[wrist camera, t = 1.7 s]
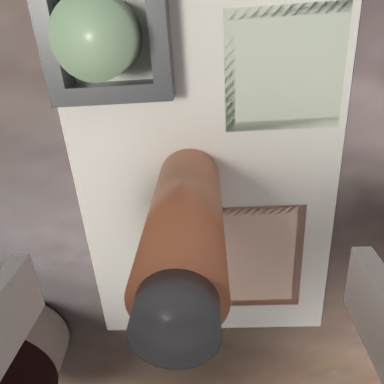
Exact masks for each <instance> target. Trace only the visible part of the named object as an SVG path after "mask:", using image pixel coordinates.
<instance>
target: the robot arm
mask: <svg viewBox="0 0 384 384" xmlns="http://www.w3.org/2000/svg"><path fill="white" fill-rule="evenodd" d="M343 302H344V304H345V306H346V308H347V310H348V312H349V314H350V316H351V318H352V321H353V323H354V325H355V327H356V329H357V331H358V333H359V335H360V337H361V340H362V342H363V344H364V346H365V348H366V350H367V352H368V354H369V356H370V359H371V361H372V363H373V365H374V367H375V369H376V371H377V373H378V375H379V378H380V380H381V382H382V384H384V263H383V262H382V260H381V259H380V257H379V256H378V255H377V253H376V252H375V250H374V249H373V248H372V246H368V247H352V248H351V254H350V260H349V267H348V273H347V280H346V286H345V293H344V299H343ZM44 306H45V303H44V299H43V296H42V293H41V290H40V286H39V283H38V280H37V277H36V274H35V270H34V267H33V264H32V261H31V257H30V254H29V255H12V256H11V257H10V258H9V259H8V260H7V261H6V263H5V264H4V265H3V266H2V267H1V268H0V382H1V380H2V378H3V376H4V375H5V373H6V371H7V370H8V368H9V366H10V364H11V363H12V361H13V359H14V358H15V356H16V354H17V352H18V351H19V349H20V347H21V346H22V344H23V342H24V340H25V339H26V337H27V335H28V334H29V332H30V330H31V328H32V327H33V325H34V323H35V322H36V320H37V318H38V316H39V315H40V313H41V311H42V310H43V308H44Z"/></svg>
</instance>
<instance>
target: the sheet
mask: <svg viewBox="0 0 384 384" xmlns="http://www.w3.org/2000/svg"><path fill="white" fill-rule="evenodd" d="M60 1H61V0H60ZM121 1H123V2H124V3H125V4H127V5H128V6H129V7H130V8H131V9H132V10H133V12H134V13H135V14H136V16H137V18H138V20H139V22H140V25H141V29H142V34H143V43H142V49H141V52H140V55H139V57H138V59H137V60H136V62H135V63H134V64H133V65H132V66H131V67H130V68H128V69H127V70H125V71H124V72H122V73H120V74H119V75H117V76H116V77H114V78H113V79H110V80H108V81H123V80H140V79H153V74H152V64H151V55H150V45H149V35H148V26H147V16H146V7H145V0H121ZM168 3H169V16H170V28H171V41H172V53H173V66H174V79H175V91H176V95H175V98H174V100H173V101H166V102H148V103H130V104H112V105H94V106H76V107H58V112H59V116H60V121H61V125H62V130H63V134H64V138H65V143H66V147H67V152H68V156H69V161H70V165H71V170H72V174H73V179H74V183H75V188H76V192H77V197H78V201H79V206H80V210H81V215H82V219H83V224H84V228H85V233H86V237H87V241H88V246H89V250H90V255H91V259H92V264H93V268H94V273H95V277H96V282H97V286H98V291H99V295H100V300H101V304H102V309H103V313H104V318H105V322H106V327H107V330H127V325H128V322H129V318H130V316H129V315H128V312H127V310H126V307H125V302H124V294H125V289H126V286H127V282H128V279H129V276H130V272H131V269H132V266H133V262H134V259H135V255H136V252H137V249H138V245H139V242H140V238H141V235H142V232H143V228H144V225H145V222H146V218H147V215H148V211H149V208H150V205H151V201H152V198H153V194H154V191H155V188H156V184H157V181H158V178H159V174H160V171H161V167H162V165H163V163H164V161H165V160H166V159H167V157H169V156H170V155H171V154H172V153H174V152H176V151H178V150H181V149H197V150H200V151H203V152H205V153H206V154H208V155H209V156H210V157H211V158H212V159H213V160H214V161H215V163H216V165H217V167H218V170H219V178H220V189H221V200H222V211H223V222H224V233H225V243H226V254H227V265H228V276H229V287H230V298H231V307H230V311H229V314H228V316H227V318H226V320H225V321H224V323H223V324H222V325H221V328H249V327H300V326H321V318H322V310H323V302H324V294H325V286H326V279H327V271H328V263H329V255H330V247H331V239H332V231H333V224H334V216H335V208H336V200H337V192H338V184H339V176H340V168H341V161H342V153H343V145H344V137H345V129H346V121H347V113H348V105H349V98H350V90H351V82H352V74H353V66H354V58H355V50H356V42H357V35H358V27H359V19H360V11H361V3H362V0H168ZM105 82H106V81H105ZM76 83H90V82H85V81H82V80H79V79H77V78H76Z"/></svg>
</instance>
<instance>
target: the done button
mask: <svg viewBox="0 0 384 384" xmlns="http://www.w3.org/2000/svg"><path fill="white" fill-rule="evenodd" d="M48 38H49V44H50V47H51V50H52V52H53V55H54V56H55V58H56V60H57V61H58V63H59V64H60V65H61V66H62V68H63V69H64V70H65V71H67V72H68V73H69V74H70V75H72V76H74V77H75V78H77V79H79V80H82V81H85V82H91V83H100V82H105V81H108V80H110V79H113V78H114V77H116V76H117V75H119V74H120V73H122V72H124V71H125V70H127V69H128V68H130V67H131V66H132V65H133V64H134V63H135V62H136V60H137V59H138V57H139V55H140V52H141V49H142V43H143V34H142V29H141V25H140V22H139V20H138V18H137V16H136V14H135V13H134V12H133V10H132V9H131V8H130V7H129V6H128V5H127V4H125V3H124V2H123V1H121V0H61V1H60V2H59V3H58V4H57V5H56V6H55V8H54V9H53V11H52V13H51V16H50V19H49V24H48Z"/></svg>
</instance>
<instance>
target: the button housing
mask: <svg viewBox="0 0 384 384" xmlns="http://www.w3.org/2000/svg"><path fill="white" fill-rule="evenodd" d="M59 2H60V0H27V3H28V8H29V12H30V16H31V21H32V25H33V29H34V34H35V38H36V42H37V47H38V51H39V56H40V60H41V64H42V69H43V73H44V77H45V82H46V86H47V90H48V95H49V99H50V103H51V108H58V107H76V106H94V105H112V104H130V103H148V102H166V101H173V100H174V98H175V95H176V91H175V79H174V66H173V53H172V41H171V28H170V16H169V3H168V0H145V7H146V16H147V26H148V35H149V45H150V55H151V64H152V74H153V79H140V80H123V81H106V82H100V83H91V82H90V83H76V78H75V77H74V76H72V75H70V74H69V73H68V72H67V71H65V70H64V69H63V68H62V66H61V65H60V64H59V63H58V61H57V60H56V58H55V56H54V55H53V52H52V50H51V47H50V44H49V38H48V24H49V19H50V16H51V13H52V11H53V9H54V8H55V6H56V5H57V4H58V3H59Z"/></svg>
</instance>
